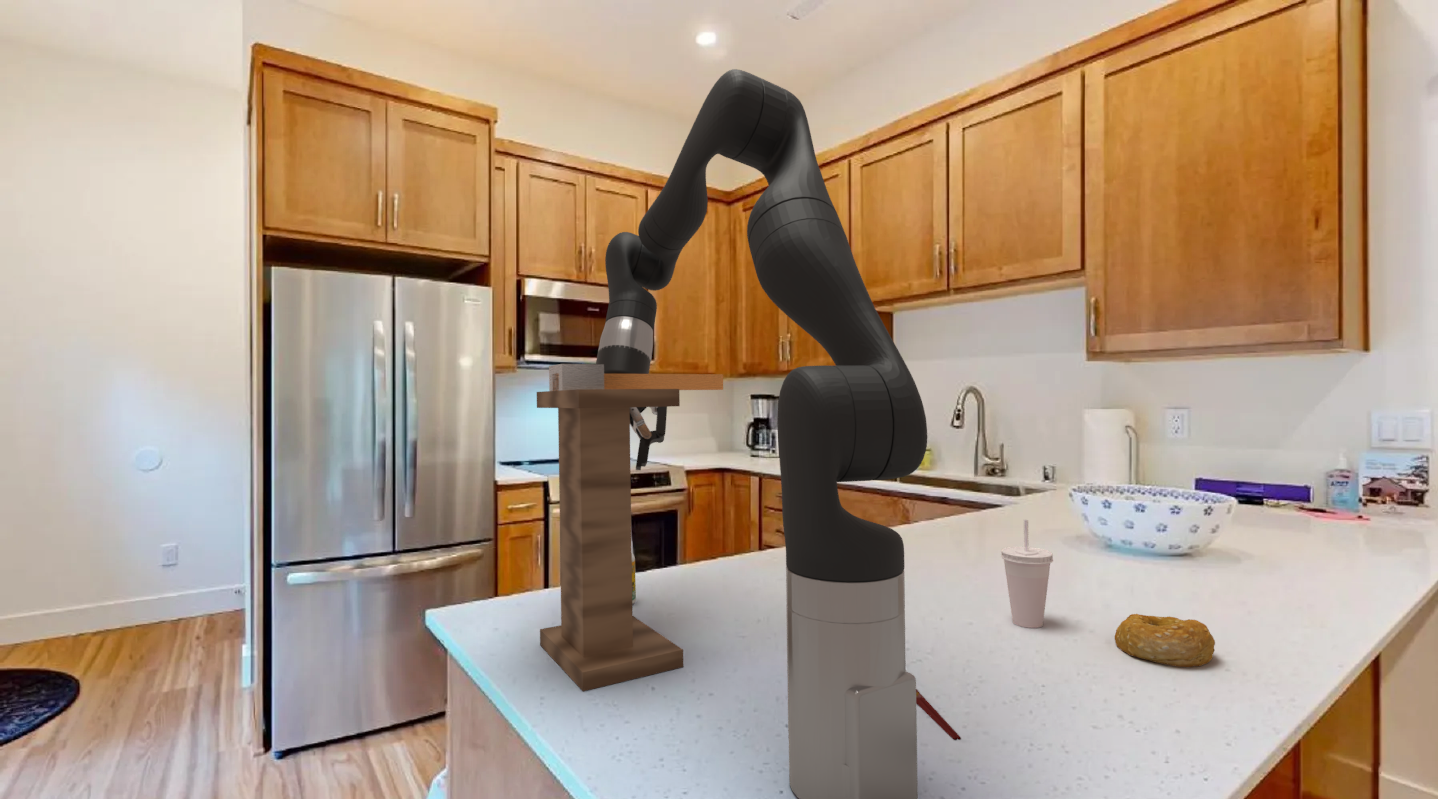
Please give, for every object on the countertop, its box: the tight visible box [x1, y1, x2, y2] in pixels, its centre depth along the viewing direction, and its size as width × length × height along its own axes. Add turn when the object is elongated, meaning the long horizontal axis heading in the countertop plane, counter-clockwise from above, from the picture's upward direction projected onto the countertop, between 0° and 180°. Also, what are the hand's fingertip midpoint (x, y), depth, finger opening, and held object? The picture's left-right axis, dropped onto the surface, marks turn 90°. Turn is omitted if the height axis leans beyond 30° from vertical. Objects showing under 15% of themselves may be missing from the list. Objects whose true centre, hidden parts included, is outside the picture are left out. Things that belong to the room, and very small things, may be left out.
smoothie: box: [1000, 519, 1054, 629], centre depth 91 cm, size 6×6×14 cm
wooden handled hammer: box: [548, 363, 724, 391], centre depth 84 cm, size 5×22×3 cm, turn 121°
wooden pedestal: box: [536, 389, 684, 692], centre depth 81 cm, size 16×12×32 cm
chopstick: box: [916, 688, 962, 741], centre depth 72 cm, size 2×24×1 cm, turn 9°
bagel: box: [1114, 613, 1216, 668], centre depth 80 cm, size 10×11×5 cm
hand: (606, 464), depth 89 cm, fingers open, 8 cm apart
